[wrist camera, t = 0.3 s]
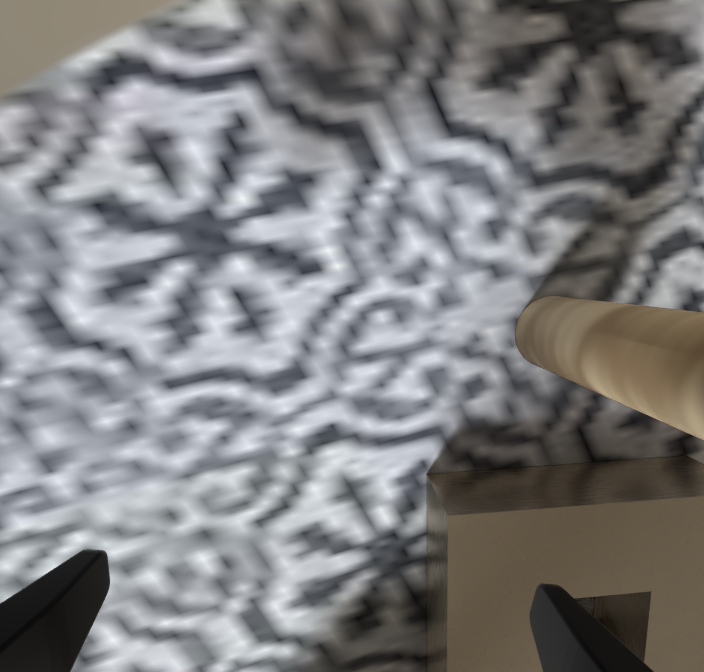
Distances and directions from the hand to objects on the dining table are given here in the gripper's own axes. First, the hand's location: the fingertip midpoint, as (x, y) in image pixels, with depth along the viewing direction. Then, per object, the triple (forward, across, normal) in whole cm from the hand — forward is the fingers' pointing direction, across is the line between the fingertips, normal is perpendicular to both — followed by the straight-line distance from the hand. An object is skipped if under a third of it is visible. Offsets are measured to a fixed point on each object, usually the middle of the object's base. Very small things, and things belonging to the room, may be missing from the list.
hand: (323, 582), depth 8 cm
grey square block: (+13, -14, +14) cm, 24 cm away
